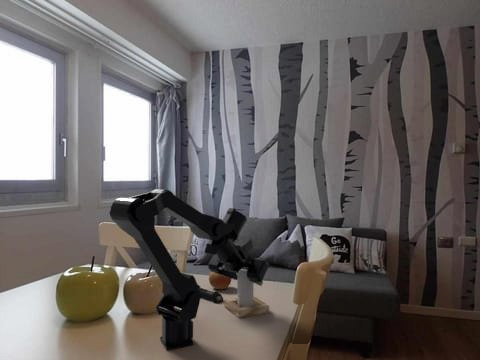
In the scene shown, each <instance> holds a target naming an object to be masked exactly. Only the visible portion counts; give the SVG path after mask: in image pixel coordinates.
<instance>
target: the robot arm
mask: <svg viewBox="0 0 480 360" xmlns="http://www.w3.org/2000/svg"><path fill="white" fill-rule="evenodd" d="M161 212H165V213H167V214H168V215H169V216H172V218H175V219H176V220H178V221H180V222H181V223H183V224H185V225H187V227H188V228H189V230H190V232H191V233H192V234H194V235H195V236H196V237H197V238H198V239H201V240H207V241H208V240H209V241H208V242H207V243H205V244H206V245H205V248H204V253H205V254H207V255H212V257H211V258H210V261H208V264H207V266H208V269H209V271H210V272H215V273H217V274H220V275H223V276H226V277H229V278H231V280H233V281H234V280H235V281H238V272H239V270H241V269H244V270H247V278H248V279H250V280H249V281H251V282H253V283H254V284H255V285H258V286H261V287H262V286H263V280H264V278H265V275H266V273H267V271H268V269H269V267H270V264H269V262H268V261H267V259H263V258H258V257H255V258H252V261H248V260H247V259H248V257H249V254H248V253H249V252H250V251H251V250H253V248H255V247H254V243H253V239H252V237H251V236H246V235H240V233H241V232H242V231H243V228H244V227H245V225H246V223H247V221H248V219H247V216H246V215H244V214H243V213H242V212H240V211H238V210H237V209H236V208H235V207H234V208H231V207H229V208H228V209H227V211H226V213H225V215H224V217H223V219H222V218H219V217H216V216H214V215H209V214H205V213H202V212H201V211H200V210H198V209H197V208H195V207H193V206H192V205H190V204H189V203H187V202H186V201H185V200H182V198H179V197H178V196H177V195H175V194H174V193H173V192H172V191H171V190H170V189H165V188H164V189H162V188H157V189H156V188H155V189H153V190H151V191H150V190H149V191H148V192H144V193H141V194H137V195H134V196H130V197H127V196H125V197H118V198H116V199H115V200H114V201H113V203H112V204H111V206H110V210H109V216H110V218H111V220H112V221H113V222H114V223H115V224H116V225H117V227H118V228H119V229H121V230H122V231H123V232H125V233H126V234H127V235H129V236H130V237H131V238H132V239H134V242H135V243H136V244H137V246H138V247H139V248H140V250H141V251H142V253H143V255H144V257H145V258H146V259H147V261H148V262H149V264H150V266H151V268H153V270H154V272H155V273H156V275H157V276H158V278H159V279H160V281H161V283H162V287H161V288H162V290H161V291H162V292H161V293H162V294H163V296H162V297H161V299H160V300H159V301H158V304H157V305H156V307H155V311H156V313H157V315H158V316H161V319H162V320H161V321H162V322H161V323H162V324H161V336H160V337H159V340H160V342H161V343H162V345H163V346H164V347H165V350H167V351H169V350H173V349H179V348H183V347H189V346H193V345H194V341H193V339H194V322H193V319H195V318H197V314H198V310H199V306H200V303H201V297H200V296H201V292H200V290H199V288H201V285H199V283H197V280H196V278H195V275H193V274H189V273H185V272H181V270H180V269H179V267H178V265H177V263H176V262H175V260H174V259H173V257H172V256H171V254H170V252H169V250H168V248H167V247H166V245H165V243H164V242H163V240H162V239H161V237H160V235H159V233H158V232H157V230H156V228H155V227H156V225H155V223H156V222H155V221H156V216H158V215H160V214H161Z"/></svg>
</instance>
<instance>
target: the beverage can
mask: <svg viewBox="0 0 480 360" xmlns="http://www.w3.org/2000/svg"><path fill="white" fill-rule="evenodd" d="M237 276H238V279H237V286H236V287H237V298H238V303H237V305H238V306H239V307H241V308H244V307H250V306H253V296H254V287H255V286H254V284H255V283H253V282H251V281H249V280H250V279H248V278H247V270H244V269H241V270H239V272H238V273H237Z"/></svg>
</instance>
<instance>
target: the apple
mask: <svg viewBox="0 0 480 360" xmlns="http://www.w3.org/2000/svg"><path fill="white" fill-rule="evenodd" d="M208 283H209V284H210V286H211V287H212V288H214V290H215V289H216V290H225V289H227V288H228V287H229V286H230V285H231V283H232V279H231V278H229V277H226V276H223V275H220V274H217V273H215V272H211V271H210V272H209V275H208Z"/></svg>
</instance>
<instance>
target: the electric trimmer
mask: <svg viewBox="0 0 480 360" xmlns="http://www.w3.org/2000/svg"><path fill="white" fill-rule="evenodd" d="M199 290H200V292H201V296H200V298H204V299H206V300H209V301H212V302H213V303H214V304H219V303H222V302H224V298H223V295H222V294H221V293H220V292H218V291H211V290H208V289H205V288H202V287H200V288H199Z"/></svg>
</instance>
